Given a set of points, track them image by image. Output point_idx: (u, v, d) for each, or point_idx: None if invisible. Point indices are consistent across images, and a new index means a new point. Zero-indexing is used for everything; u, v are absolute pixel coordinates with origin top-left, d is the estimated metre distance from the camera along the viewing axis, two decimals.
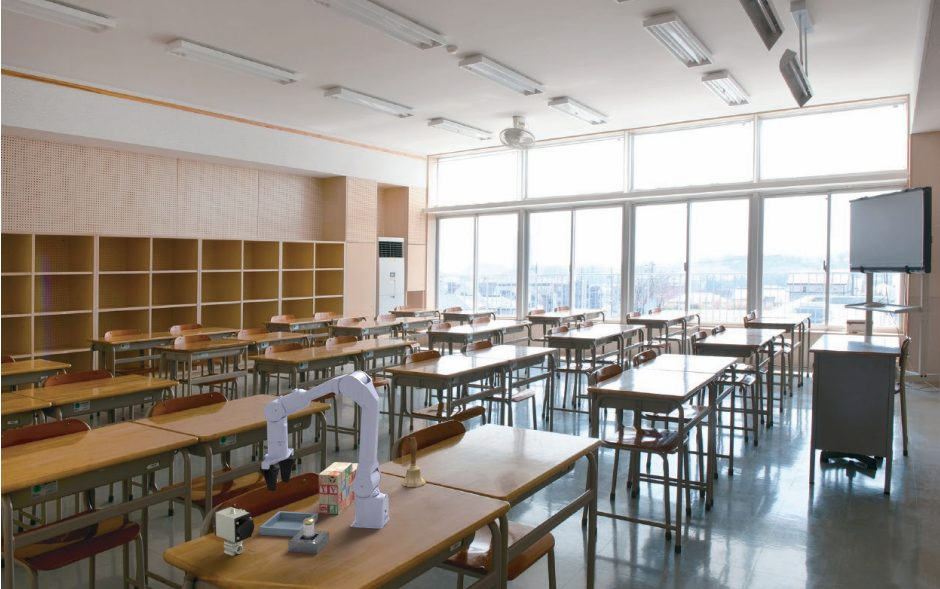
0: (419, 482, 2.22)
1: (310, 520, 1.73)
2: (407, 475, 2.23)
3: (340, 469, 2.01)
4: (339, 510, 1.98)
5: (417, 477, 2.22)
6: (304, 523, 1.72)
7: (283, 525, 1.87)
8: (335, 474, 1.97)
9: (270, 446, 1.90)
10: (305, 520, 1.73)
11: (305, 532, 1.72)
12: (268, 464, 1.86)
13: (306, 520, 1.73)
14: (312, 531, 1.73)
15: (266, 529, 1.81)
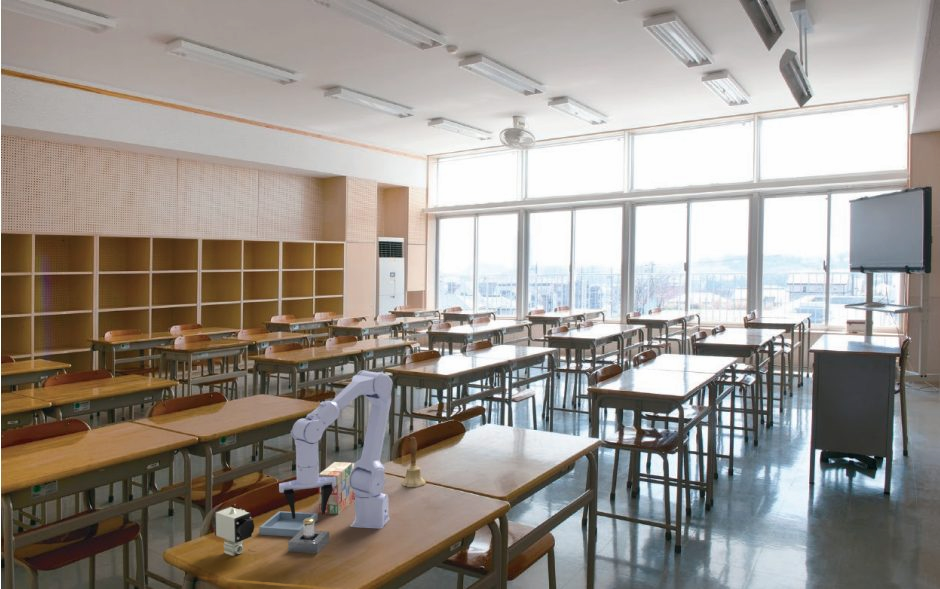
0: (419, 482, 2.22)
1: (310, 520, 1.73)
2: (407, 475, 2.23)
3: (340, 469, 2.01)
4: (339, 510, 1.98)
5: (417, 477, 2.22)
6: (304, 523, 1.72)
7: (283, 525, 1.87)
8: (335, 474, 1.97)
9: None
10: (305, 520, 1.73)
11: (305, 532, 1.72)
12: (281, 487, 1.69)
13: (306, 520, 1.73)
14: (312, 531, 1.73)
15: (266, 529, 1.81)
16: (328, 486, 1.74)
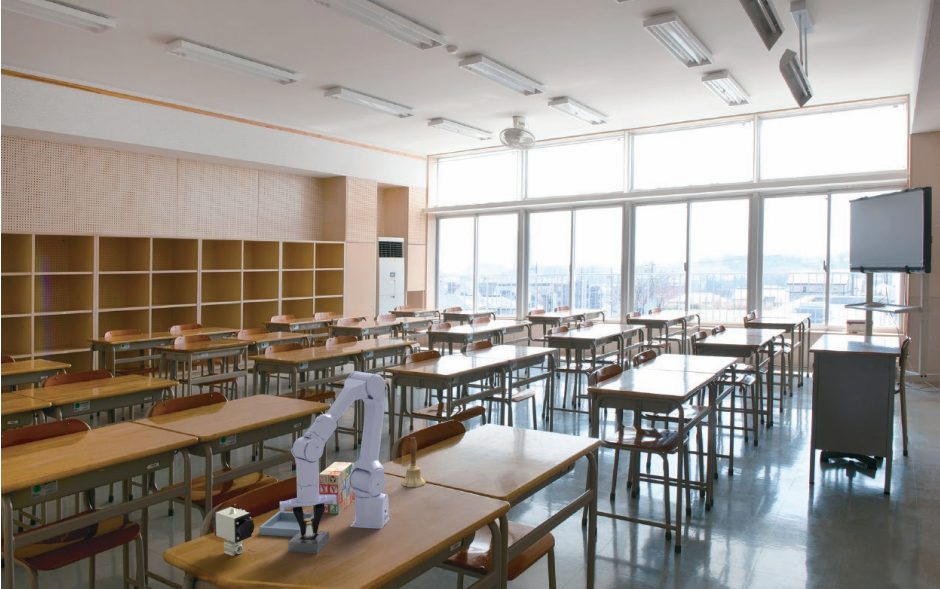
0: (419, 482, 2.22)
1: (310, 520, 1.73)
2: (407, 475, 2.23)
3: (340, 469, 2.02)
4: (339, 510, 1.98)
5: (417, 477, 2.22)
6: (304, 523, 1.72)
7: (283, 525, 1.87)
8: (335, 474, 1.98)
9: None
10: (305, 520, 1.73)
11: (305, 532, 1.72)
12: (281, 506, 1.70)
13: (306, 520, 1.73)
14: (312, 531, 1.73)
15: (266, 529, 1.81)
16: (320, 505, 1.73)
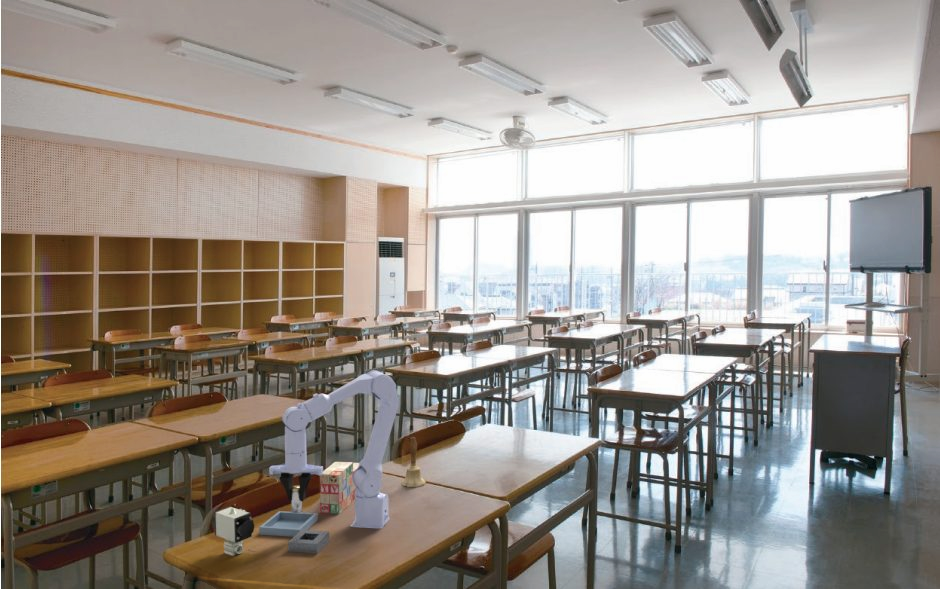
0: (419, 482, 2.22)
1: (296, 488, 1.79)
2: (407, 475, 2.23)
3: (341, 468, 2.02)
4: (340, 509, 1.98)
5: (417, 477, 2.22)
6: (291, 489, 1.79)
7: (283, 525, 1.87)
8: (336, 473, 1.98)
9: None
10: (293, 487, 1.80)
11: (292, 498, 1.79)
12: (270, 470, 1.79)
13: (294, 487, 1.80)
14: (298, 498, 1.79)
15: (266, 529, 1.81)
16: (306, 474, 1.79)
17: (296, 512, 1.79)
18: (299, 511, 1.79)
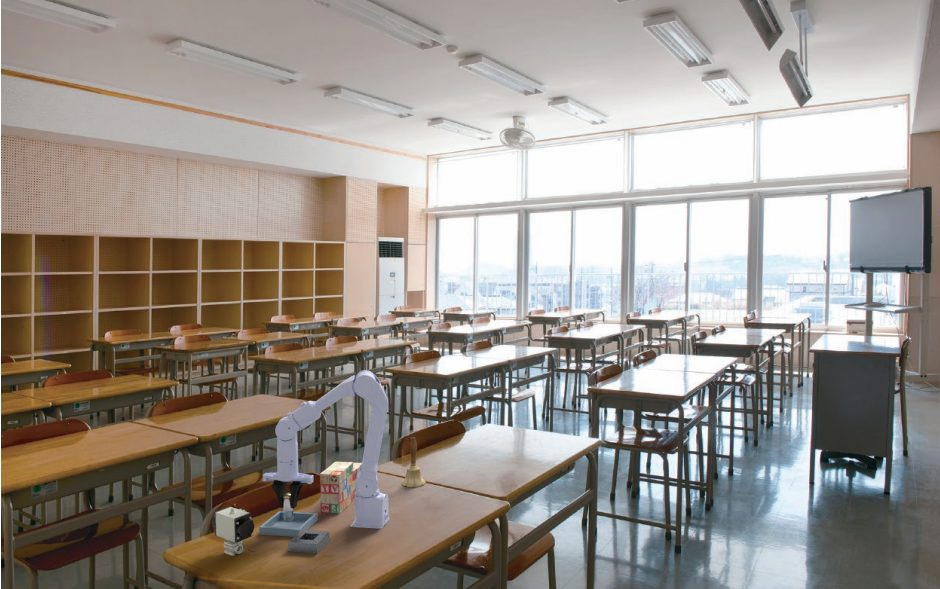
0: (419, 482, 2.22)
1: (288, 495, 1.85)
2: (407, 475, 2.23)
3: (341, 468, 2.02)
4: (340, 509, 1.98)
5: (417, 477, 2.22)
6: (283, 497, 1.85)
7: (283, 525, 1.87)
8: (336, 473, 1.98)
9: None
10: (285, 494, 1.86)
11: (283, 505, 1.85)
12: (264, 477, 1.86)
13: (285, 494, 1.86)
14: (289, 505, 1.85)
15: (266, 529, 1.81)
16: (296, 483, 1.84)
17: (287, 519, 1.85)
18: (290, 518, 1.85)
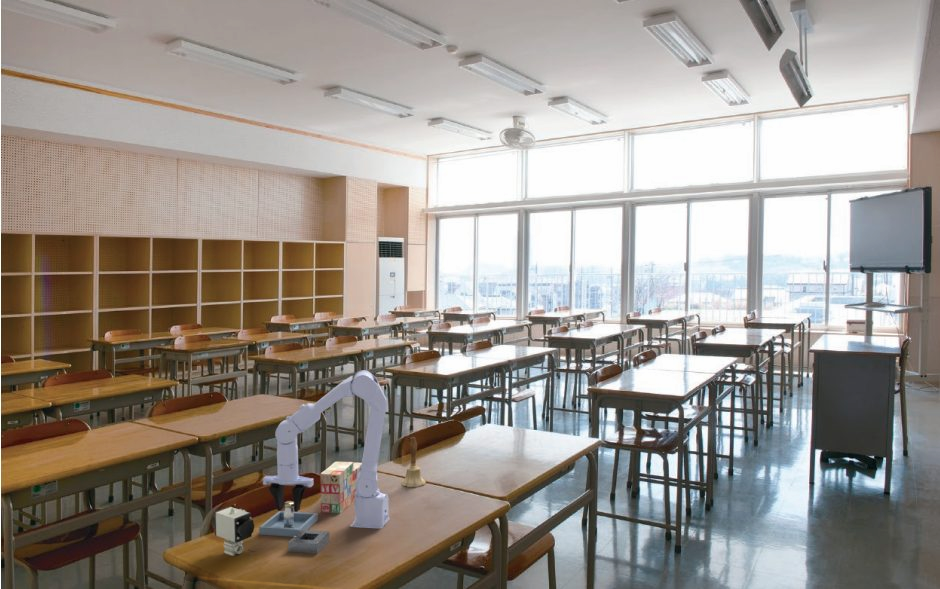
0: (419, 482, 2.22)
1: (289, 504, 1.85)
2: (407, 475, 2.23)
3: (342, 468, 2.02)
4: (341, 509, 1.99)
5: (417, 477, 2.22)
6: (284, 505, 1.85)
7: (283, 525, 1.87)
8: (337, 473, 1.98)
9: None
10: (286, 502, 1.86)
11: (284, 513, 1.85)
12: (264, 480, 1.86)
13: (286, 503, 1.86)
14: (290, 514, 1.85)
15: (266, 529, 1.81)
16: (299, 486, 1.84)
17: (287, 527, 1.85)
18: (290, 526, 1.85)
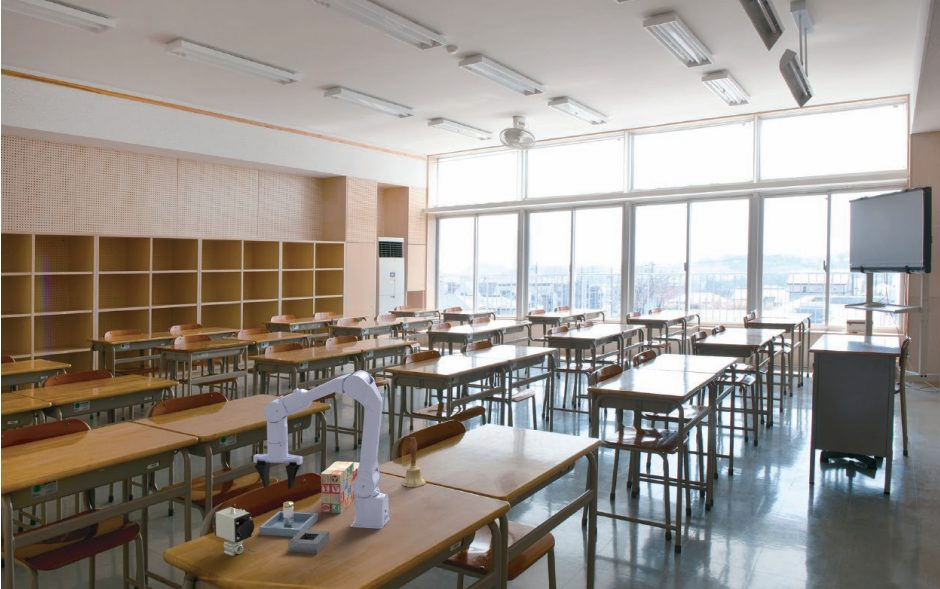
0: (419, 482, 2.22)
1: (288, 504, 1.85)
2: (407, 475, 2.23)
3: (342, 468, 2.02)
4: (341, 509, 1.99)
5: (417, 477, 2.22)
6: (283, 505, 1.85)
7: (283, 525, 1.87)
8: (337, 473, 1.98)
9: None
10: (285, 503, 1.86)
11: (283, 514, 1.85)
12: (254, 458, 1.90)
13: (286, 503, 1.86)
14: (289, 514, 1.85)
15: (266, 529, 1.81)
16: (293, 464, 1.88)
17: (287, 527, 1.85)
18: (290, 526, 1.85)
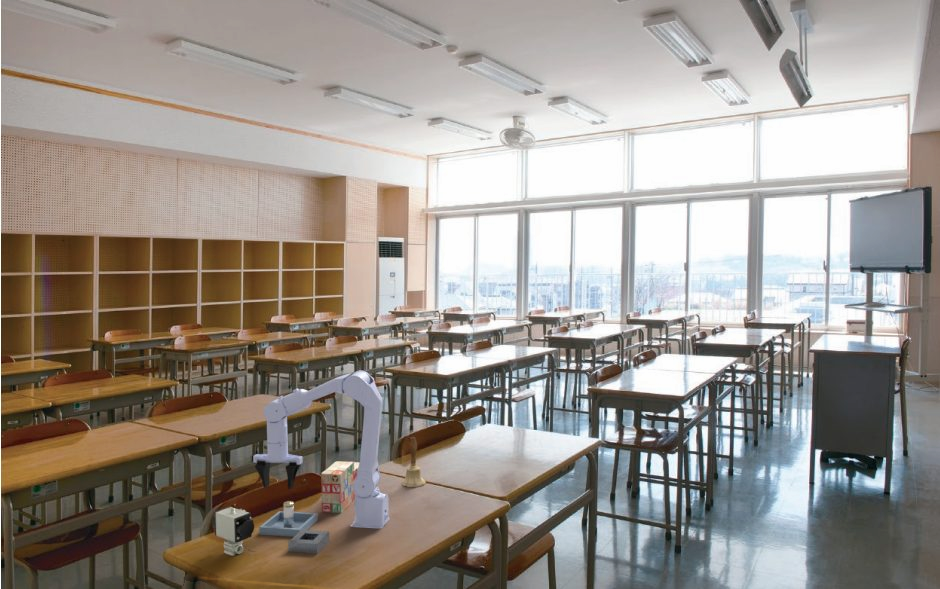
0: (419, 482, 2.22)
1: (288, 503, 1.85)
2: (407, 475, 2.23)
3: (342, 468, 2.02)
4: (342, 509, 1.99)
5: (417, 477, 2.22)
6: None
7: (283, 525, 1.87)
8: (338, 473, 1.98)
9: None
10: (285, 502, 1.86)
11: (284, 513, 1.85)
12: (254, 458, 1.91)
13: (286, 503, 1.86)
14: (290, 514, 1.85)
15: (266, 529, 1.81)
16: (293, 464, 1.89)
17: (287, 527, 1.85)
18: (290, 526, 1.85)
